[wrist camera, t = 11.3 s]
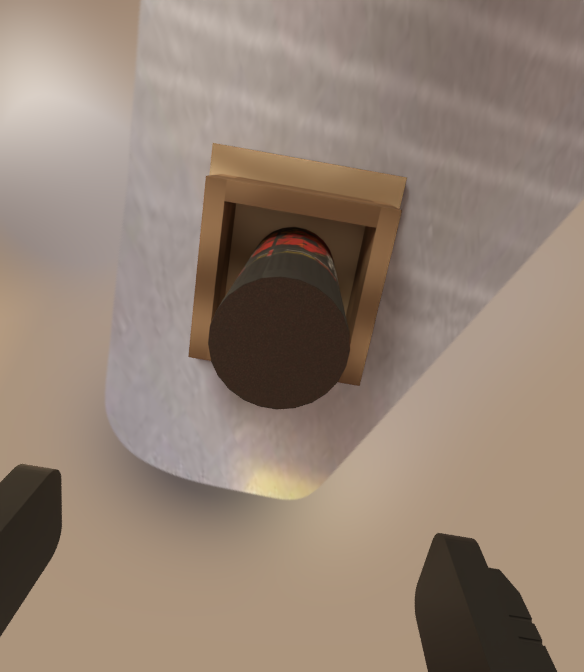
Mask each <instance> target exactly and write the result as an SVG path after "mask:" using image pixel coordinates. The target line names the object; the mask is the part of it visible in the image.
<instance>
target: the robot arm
mask: <svg viewBox="0 0 584 672" xmlns="http://www.w3.org/2000/svg"><path fill="white" fill-rule="evenodd" d="M61 501H62V500H61V474H60V472H59V470H56V469H50V468H44V467H38V466H32V465H25V464H20V465H18V466H16V467H15V468H14V469H13V470H12V471H11V472H10V473H9V474H8V475H7V476H6V477H5V478H4V479H3V480H2V481H1V482H0V636H1V635H2V633H3V632H4V630H5V629H6V627H7V626H8V624H9V623H10V621H11V620H12V618H13V616H14V615H15V613H16V612H17V610H18V609H19V607H20V606H21V604H22V603H23V601H24V600H25V598H26V597H27V595H28V593H29V592H30V590H31V589H32V587H33V586H34V584H35V583H36V581H37V580H38V578H39V577H40V575H41V574H42V572H43V571H44V569H45V567H46V566H47V564H48V563H49V561H50V560H51V558H52V556H53V554H54V552H55V550H56V548H57V545H58V542H59V539H60V535H61V529H62V505H61V504H62V502H61ZM415 615H416V620H417V624H418V629H419V633H420V638H421V642H422V647H423V651H424V656H425V660H426V665H427V669H428V672H557V670H556V668H555V666H554V664H553V662H552V660H551V658H550V656H549V654H548V651H547V649H546V647H545V646H543V645H542V639H541V637H540V635H539V632H538V630H537V628H536V626H535V624H533V623H532V618H531V616H530V614H529V612H528V609H527V607H526V605H525V603H524V601H523V599H522V597H521V595H520V593H519V592H518V591H517V589H516V588H515V587H514V586H513V585H512V584H511V583H510V581H509V580H508V579H507V578H506V577H505V575H504V574H503V573H502V572H501V571H500V570H499V569H493V568H488V566H487V564H486V561H485V559H484V556H483V554H482V552H481V550H480V547H479V545H478V543H477V542H476V540H474V539H472V538H466V537H460V536H454V535H448V534H442V533H438V534H436V535H435V536H434V538H433V541H432V543H431V546H430V549H429V552H428V555H427V558H426V561H425V563H424V566H423V569H422V572H421V575H420V578H419V580H418V583H417V587H416V592H415Z"/></svg>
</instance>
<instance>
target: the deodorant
mask: <svg viewBox="0 0 584 672" xmlns="http://www.w3.org/2000/svg"><path fill="white" fill-rule="evenodd" d="M208 346H209V352H210V358H211V362H212V364H213V366H214V368H215V370H216V372H217V375H218V376H219V378H220V379H221V380H222V381H223V382H224V384H225V385H226V386H227V387H228V388H229V389H230V390H231V391H232V392H234V393H235V394H236V395H238V396H239V397H241V398H242V399H243V400H245V401H248V402H250V403H253V404H255V405H257V406H260V407H266V408H272V409H288V408H296V407H300V406H303V405H306V404H309V403H312V402H314V401H315V400H317V399H318V398H320V397H322V396H323V395H325V394H326V393H327V392H328V391H329V390H330V389H331V388H332V387H333V386H334V385H335V384H336V383H337V382H338V381H339V379H340V377H341V375H342V373H343V372H344V370H345V368H346V366H347V362H348V357H349V353H350V335H349V328H348V324H347V319H346V315H345V310H344V305H343V301H342V296H341V292H340V287H339V283H338V278H337V274H336V269H335V265H334V260H333V257H332V254H331V251H330V249H329V248H328V246H327V245H326V243H325V242H324V240H322V239H321V238H320V237H319V236H318V235H316V234H315V233H313V232H311V231H309V230H307V229H304V228H298V227H287V228H281V229H279V230H276V231H273V232H272V233H270V234H269V235H267V236H266V237H265V238H263V240H262V241H261V242H260V244H259V245H258V246H257V247H256V249H255V251H254V252H253V254H252V255H251V257H250V258H249V260H248V261H247V263H246V265H245V266H244V268H243V269H242V271H241V272H240V274H239V275H238V277H237V279H236V280H235V282H234V283H233V285H232V286H231V288H230V290H229V291H228V293H227V294H226V296H225V297H224V299H223V300H222V302H221V304H220V305H219V307H218V308H217V310H216V312H215V315H214V317H213V320H212V322H211V324H210V329H209V339H208Z"/></svg>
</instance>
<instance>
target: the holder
mask: <svg viewBox="0 0 584 672" xmlns="http://www.w3.org/2000/svg"><path fill="white" fill-rule="evenodd" d="M406 179H407V178H406V177H400V176H395V175H389V174H384V173H378V172H372V171H367V170H361V169H355V168H350V167H344V166H339V165H333V164H327V163H322V162H316V161H311V160H305V159H299V158H294V157H288V156H283V155H277V154H271V153H266V152H260V151H255V150H249V149H243V148H238V147H232V146H227V145H221V144H215V143H213V146H212V156H211V166H210V175H209V176H206V182H205V192H204V203H203V213H202V223H201V233H200V244H199V254H198V264H197V275H196V285H195V295H194V306H193V316H192V326H191V337H190V347H189V357H192V358H197V359H203V360H209V361H211V358H210V352H209V346H208V339H209V329H210V324H211V322H212V320H213V317H214V315H215V312H216V310H217V308H218V307H219V305H220V304H221V302H222V300H223V299H224V297H225V296H226V294H227V293H228V291H229V290H230V288H231V286H232V285H233V283H234V282H235V280H236V279H237V277H238V275H239V274H240V272H241V271H242V269H243V268H244V266H245V265H246V263H247V261H248V260H249V258H250V257H251V255H252V254H253V252H254V251H255V249H256V247H257V246H258V245H259V244H260V242H261V241H262V240H263V238H265V237H266V236H267V235H269V234H270V233H272V232H273V231H276V230H279V229H281V228H287V227H298V228H304V229H307V230H309V231H311V232H313V233H315V234H316V235H318V236H319V237H320V238H321V239H322V240H324V242H325V243H326V245H327V246H328V248H329V249H330V251H331V254H332V257H333V260H334V265H335V269H336V274H337V278H338V283H339V287H340V292H341V296H342V301H343V305H344V310H345V315H346V319H347V324H348V328H349V335H350V353H349V357H348V362H347V366H346V368H345V370H344V372H343V373H342V375H341V377H340V379H339V381H338V382H340V383H346V384H352V385H358V386H359V385H360V381H361V377H362V373H363V369H364V365H365V361H366V357H367V352H368V348H369V344H370V340H371V336H372V332H373V328H374V324H375V319H376V315H377V311H378V307H379V303H380V299H381V295H382V291H383V286H384V282H385V278H386V274H387V270H388V266H389V262H390V257H391V253H392V249H393V245H394V241H395V237H396V233H397V229H398V224H399V220H400V216H401V212H402V210H400V209H399V208H400V204H401V200H402V196H403V192H404V188H405V183H406Z"/></svg>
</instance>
